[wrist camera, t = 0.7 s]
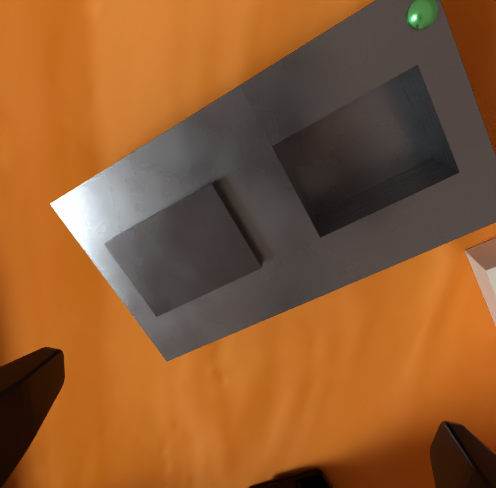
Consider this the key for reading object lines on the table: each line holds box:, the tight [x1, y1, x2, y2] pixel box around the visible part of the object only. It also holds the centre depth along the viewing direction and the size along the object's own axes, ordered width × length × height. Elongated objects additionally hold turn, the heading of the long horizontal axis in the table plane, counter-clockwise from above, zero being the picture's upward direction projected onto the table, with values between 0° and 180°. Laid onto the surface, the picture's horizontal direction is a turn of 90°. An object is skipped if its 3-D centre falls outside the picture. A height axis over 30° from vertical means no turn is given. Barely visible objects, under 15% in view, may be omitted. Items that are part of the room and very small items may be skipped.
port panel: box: [51, 0, 496, 361], centre depth 19 cm, size 10×18×5 cm, turn 120°
